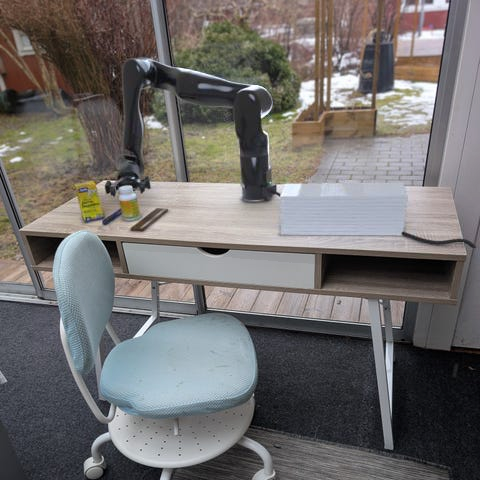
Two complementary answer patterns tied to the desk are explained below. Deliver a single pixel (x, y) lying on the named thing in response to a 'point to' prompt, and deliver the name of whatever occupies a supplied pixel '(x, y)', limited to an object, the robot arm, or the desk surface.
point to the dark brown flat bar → (149, 219)
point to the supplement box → (89, 201)
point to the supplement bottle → (128, 203)
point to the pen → (112, 217)
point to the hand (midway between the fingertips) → (127, 191)
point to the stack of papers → (343, 209)
